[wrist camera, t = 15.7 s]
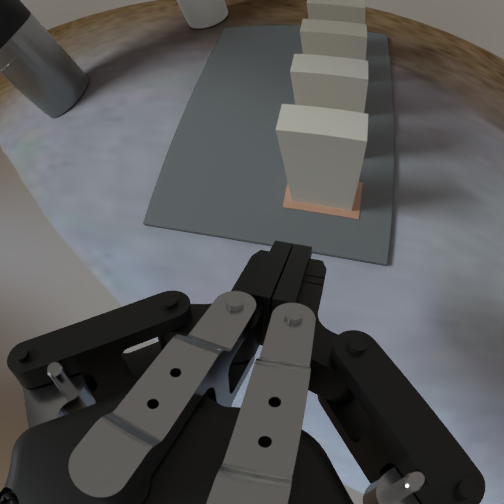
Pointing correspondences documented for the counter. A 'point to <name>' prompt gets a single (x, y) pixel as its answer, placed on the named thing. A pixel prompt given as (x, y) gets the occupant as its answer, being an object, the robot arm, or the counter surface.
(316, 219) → the slate mat
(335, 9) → the domino
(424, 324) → the counter surface
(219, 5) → the can
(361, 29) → the domino
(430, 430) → the robot arm
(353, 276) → the counter surface
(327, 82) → the domino
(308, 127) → the domino
